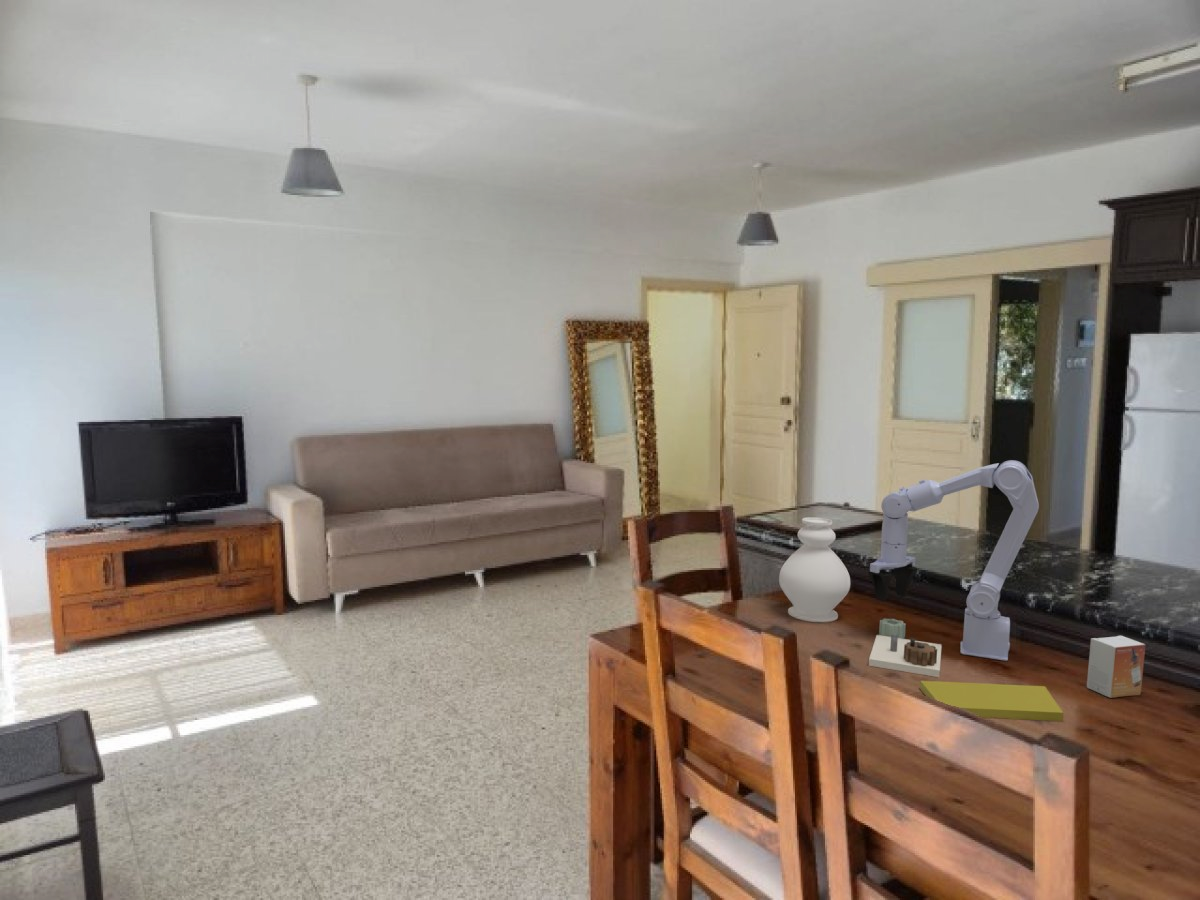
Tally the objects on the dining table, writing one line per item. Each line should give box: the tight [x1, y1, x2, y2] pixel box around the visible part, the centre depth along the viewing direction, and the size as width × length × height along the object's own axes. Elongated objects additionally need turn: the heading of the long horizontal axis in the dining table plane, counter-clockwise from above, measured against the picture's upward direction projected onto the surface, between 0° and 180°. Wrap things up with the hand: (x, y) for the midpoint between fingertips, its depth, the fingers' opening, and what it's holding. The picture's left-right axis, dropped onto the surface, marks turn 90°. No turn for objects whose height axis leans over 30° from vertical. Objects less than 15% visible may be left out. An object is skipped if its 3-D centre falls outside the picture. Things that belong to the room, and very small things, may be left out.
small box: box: [1086, 635, 1146, 699], centre depth 156 cm, size 8×6×10 cm
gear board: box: [868, 633, 942, 678], centre depth 172 cm, size 14×17×6 cm
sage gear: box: [878, 617, 907, 639], centre depth 187 cm, size 6×6×3 cm
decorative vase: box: [778, 516, 851, 623], centre depth 201 cm, size 18×18×25 cm
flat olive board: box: [919, 680, 1064, 722], centre depth 149 cm, size 12×2×24 cm
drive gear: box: [904, 637, 937, 666], centre depth 167 cm, size 6×6×4 cm
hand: (891, 598), depth 186 cm, fingers open, 7 cm apart
